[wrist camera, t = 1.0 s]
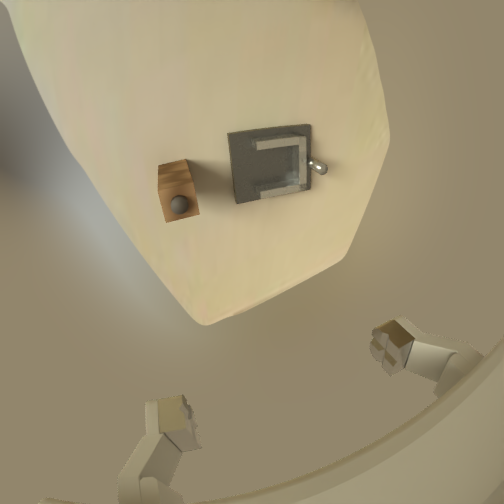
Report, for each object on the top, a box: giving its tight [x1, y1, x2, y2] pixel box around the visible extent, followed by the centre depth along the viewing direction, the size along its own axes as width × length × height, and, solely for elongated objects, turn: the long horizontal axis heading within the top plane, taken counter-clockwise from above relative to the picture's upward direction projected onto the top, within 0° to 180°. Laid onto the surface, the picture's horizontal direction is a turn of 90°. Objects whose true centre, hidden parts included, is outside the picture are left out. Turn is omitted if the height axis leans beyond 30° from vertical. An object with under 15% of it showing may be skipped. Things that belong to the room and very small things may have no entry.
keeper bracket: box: [227, 124, 328, 204], centre depth 48 cm, size 16×14×8 cm
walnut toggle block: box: [158, 159, 199, 223], centre depth 41 cm, size 5×5×14 cm
